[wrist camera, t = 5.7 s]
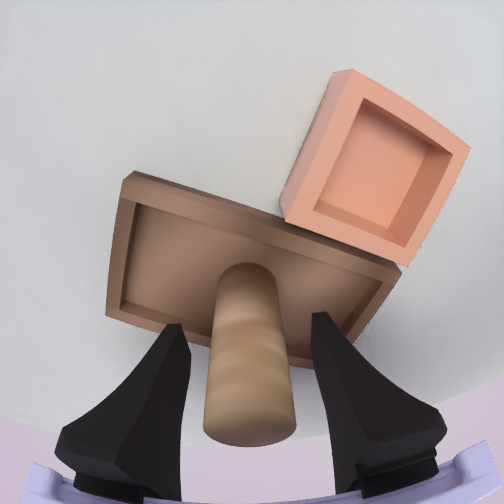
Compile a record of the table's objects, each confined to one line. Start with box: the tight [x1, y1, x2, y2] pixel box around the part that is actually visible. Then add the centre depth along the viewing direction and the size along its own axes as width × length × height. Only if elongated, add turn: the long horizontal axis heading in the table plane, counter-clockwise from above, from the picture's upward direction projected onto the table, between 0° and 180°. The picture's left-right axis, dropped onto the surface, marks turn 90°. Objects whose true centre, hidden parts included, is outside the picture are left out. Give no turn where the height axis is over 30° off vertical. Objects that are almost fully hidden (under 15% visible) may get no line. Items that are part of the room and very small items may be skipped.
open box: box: [279, 69, 471, 267], centre depth 12 cm, size 6×6×2 cm
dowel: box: [203, 262, 296, 447], centre depth 12 cm, size 3×3×8 cm
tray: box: [105, 171, 402, 370], centre depth 15 cm, size 14×8×2 cm, turn 70°
